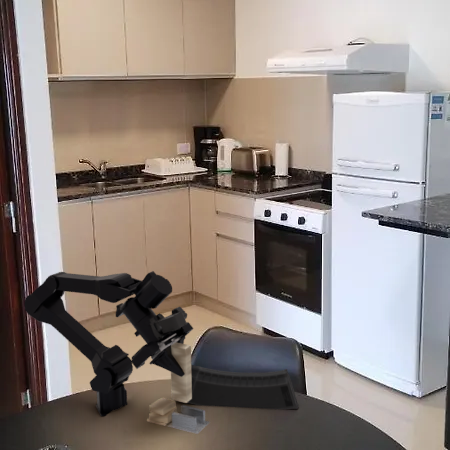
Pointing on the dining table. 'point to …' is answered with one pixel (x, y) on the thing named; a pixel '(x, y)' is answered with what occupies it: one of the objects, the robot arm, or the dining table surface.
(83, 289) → the robot arm
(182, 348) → the beige rectangular block
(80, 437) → the dining table surface
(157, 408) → the offcut stack
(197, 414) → the rack
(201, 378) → the black curved panel
